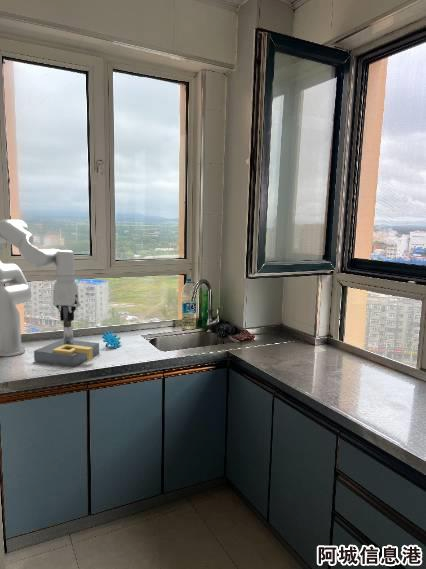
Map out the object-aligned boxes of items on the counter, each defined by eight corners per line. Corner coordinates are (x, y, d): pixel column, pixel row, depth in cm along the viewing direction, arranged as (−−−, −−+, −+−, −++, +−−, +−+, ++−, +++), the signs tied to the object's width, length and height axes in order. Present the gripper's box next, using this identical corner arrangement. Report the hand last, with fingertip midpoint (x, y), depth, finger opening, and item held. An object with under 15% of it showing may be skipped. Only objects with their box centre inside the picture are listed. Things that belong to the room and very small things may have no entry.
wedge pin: (61, 326, 186) (60, 299, 184) (66, 325, 189) (65, 298, 187) (68, 327, 185) (67, 300, 183) (72, 325, 188) (71, 298, 186)
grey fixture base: (34, 361, 187) (32, 328, 185) (62, 349, 206) (61, 318, 204) (73, 367, 182) (72, 332, 179) (99, 353, 201) (98, 322, 198)
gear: (108, 348, 204) (100, 331, 208) (102, 355, 206) (94, 338, 210) (126, 346, 213) (117, 329, 217) (119, 352, 215) (111, 336, 219)
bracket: (52, 358, 186) (52, 347, 185) (65, 352, 195) (65, 342, 194) (85, 362, 182) (84, 351, 181) (96, 356, 190) (96, 345, 189)
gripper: (43, 279, 183) (45, 321, 185) (77, 281, 178) (78, 324, 181) (54, 277, 190) (56, 317, 192) (87, 278, 185) (88, 320, 188)
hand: (67, 320), depth 186 cm, fingers closed on wedge pin, 3 cm apart
